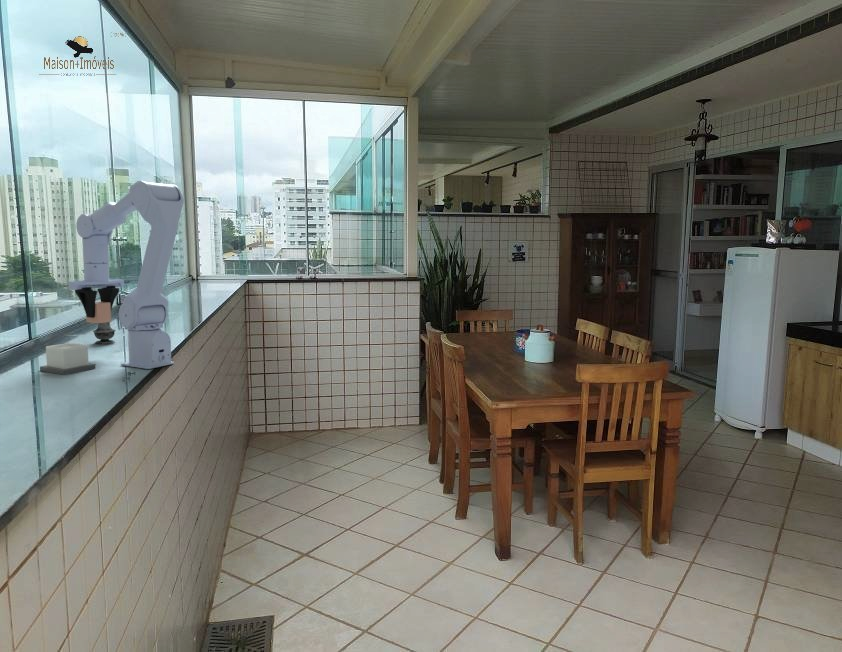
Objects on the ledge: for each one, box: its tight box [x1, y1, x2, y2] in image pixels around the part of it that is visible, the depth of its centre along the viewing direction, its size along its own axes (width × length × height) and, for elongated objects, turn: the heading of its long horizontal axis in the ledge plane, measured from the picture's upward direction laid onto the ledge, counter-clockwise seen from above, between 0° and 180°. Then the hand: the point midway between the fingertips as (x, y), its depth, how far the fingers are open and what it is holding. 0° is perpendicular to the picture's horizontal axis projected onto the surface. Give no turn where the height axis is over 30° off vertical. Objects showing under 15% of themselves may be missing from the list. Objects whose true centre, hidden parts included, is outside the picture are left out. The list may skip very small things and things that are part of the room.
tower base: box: [39, 342, 97, 376], centre depth 142 cm, size 8×8×6 cm
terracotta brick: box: [85, 300, 112, 324], centre depth 157 cm, size 4×4×5 cm
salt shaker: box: [92, 322, 116, 345], centre depth 177 cm, size 6×6×12 cm
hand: (98, 316), depth 157 cm, fingers closed on terracotta brick, 4 cm apart
